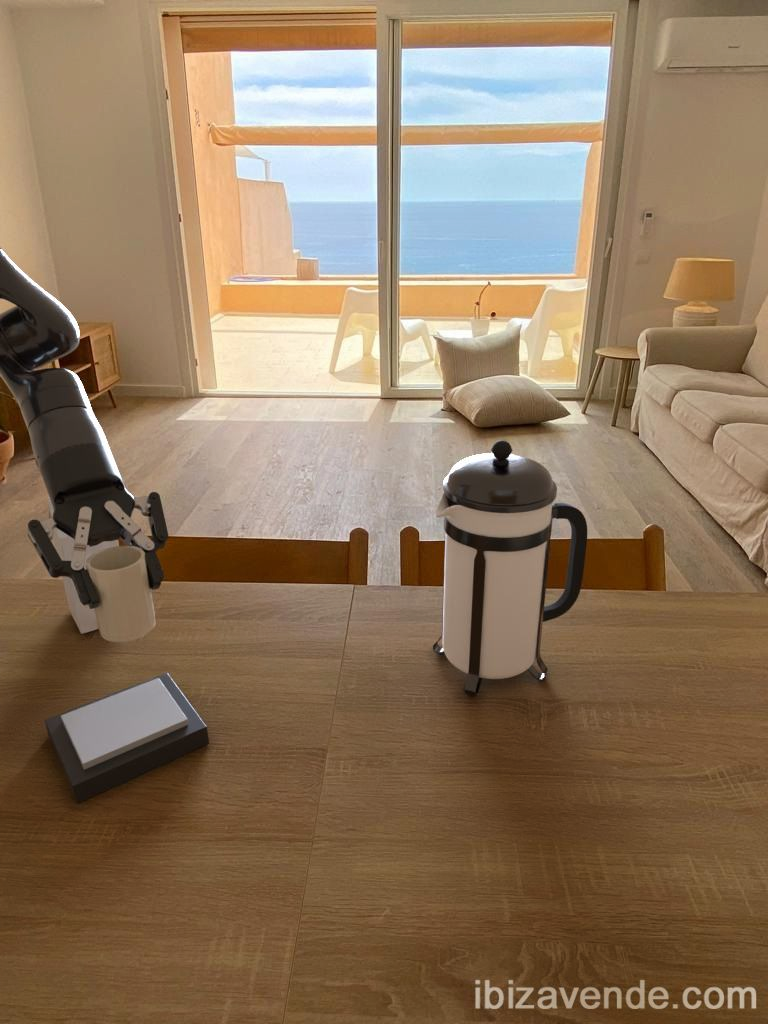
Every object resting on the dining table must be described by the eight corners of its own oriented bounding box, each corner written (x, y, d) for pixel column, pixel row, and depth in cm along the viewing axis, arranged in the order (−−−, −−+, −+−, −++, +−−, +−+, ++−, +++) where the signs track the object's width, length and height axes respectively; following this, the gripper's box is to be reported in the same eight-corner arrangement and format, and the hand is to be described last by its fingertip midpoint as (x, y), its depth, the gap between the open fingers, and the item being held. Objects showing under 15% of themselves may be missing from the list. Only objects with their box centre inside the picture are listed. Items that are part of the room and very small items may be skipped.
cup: (109, 648, 72) (95, 577, 69) (93, 624, 76) (79, 555, 73) (163, 630, 75) (152, 560, 72) (145, 607, 79) (134, 540, 76)
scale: (77, 804, 69) (70, 779, 68) (48, 736, 78) (42, 713, 77) (209, 743, 76) (206, 720, 75) (170, 688, 85) (166, 666, 84)
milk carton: (133, 619, 100) (110, 497, 92) (81, 635, 96) (53, 510, 88) (119, 598, 105) (97, 481, 97) (70, 612, 101) (42, 492, 94)
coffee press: (533, 719, 79) (557, 475, 67) (410, 677, 87) (411, 449, 74) (575, 643, 93) (602, 428, 81) (466, 612, 100) (475, 410, 88)
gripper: (2, 455, 70) (55, 607, 66) (144, 429, 77) (199, 564, 73) (4, 488, 76) (52, 629, 72) (135, 461, 83) (185, 587, 79)
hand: (126, 595), depth 73 cm, fingers closed on cup, 6 cm apart
